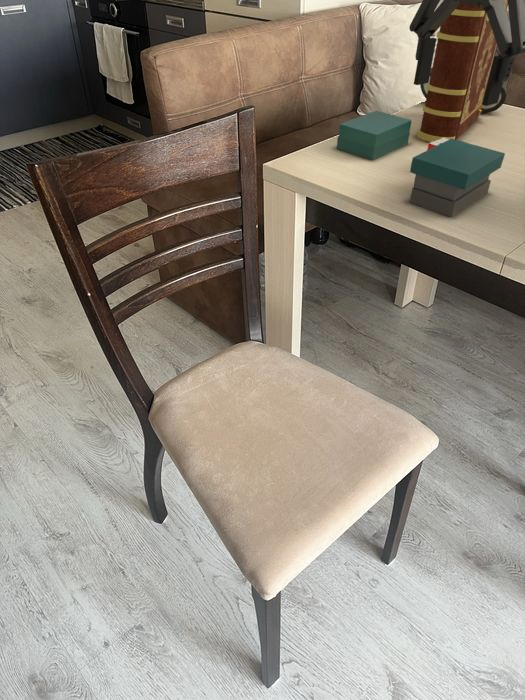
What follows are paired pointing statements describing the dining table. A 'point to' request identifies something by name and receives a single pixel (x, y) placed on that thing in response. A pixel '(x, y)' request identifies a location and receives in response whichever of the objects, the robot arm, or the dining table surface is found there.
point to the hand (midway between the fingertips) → (453, 93)
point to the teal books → (373, 134)
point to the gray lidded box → (446, 195)
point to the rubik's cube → (437, 143)
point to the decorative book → (458, 73)
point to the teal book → (457, 163)
